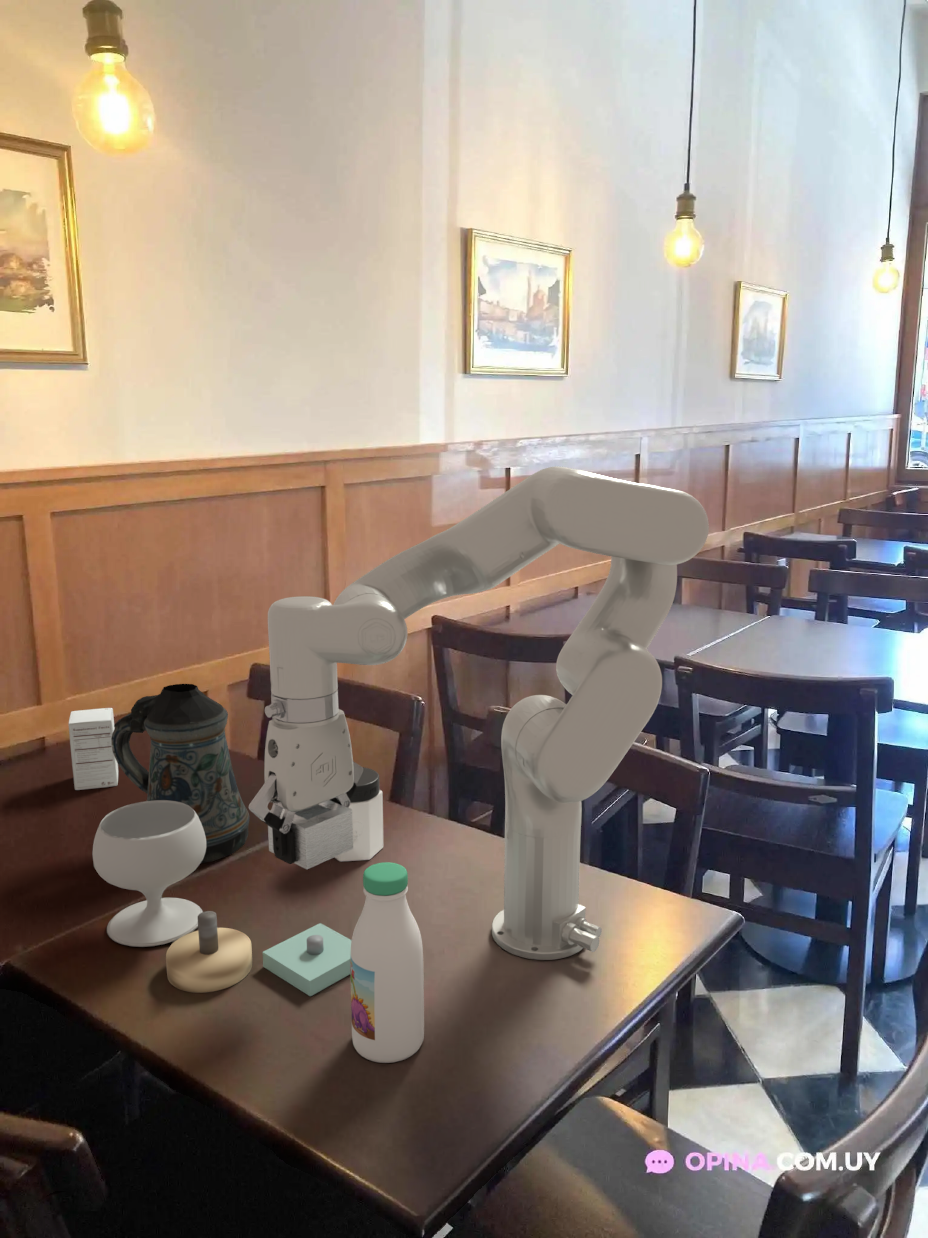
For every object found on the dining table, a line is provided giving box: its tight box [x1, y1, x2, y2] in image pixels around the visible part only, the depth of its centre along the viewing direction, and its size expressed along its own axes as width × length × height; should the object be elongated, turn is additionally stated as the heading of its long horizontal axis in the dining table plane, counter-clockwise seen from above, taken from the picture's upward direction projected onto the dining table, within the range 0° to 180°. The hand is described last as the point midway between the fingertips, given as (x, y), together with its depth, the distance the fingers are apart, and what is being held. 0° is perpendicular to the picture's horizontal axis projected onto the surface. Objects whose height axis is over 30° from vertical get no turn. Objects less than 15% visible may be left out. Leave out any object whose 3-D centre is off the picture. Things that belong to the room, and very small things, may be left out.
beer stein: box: [111, 683, 250, 864], centre depth 148 cm, size 16×19×25 cm
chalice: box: [92, 800, 206, 948], centre depth 126 cm, size 14×14×15 cm
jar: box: [334, 766, 384, 862], centre depth 147 cm, size 9×8×12 cm
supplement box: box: [68, 707, 119, 791], centre depth 174 cm, size 7×7×13 cm
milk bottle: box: [349, 861, 425, 1064], centre depth 102 cm, size 8×8×20 cm
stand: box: [262, 922, 352, 997], centre depth 118 cm, size 9×9×4 cm
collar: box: [267, 800, 353, 870], centre depth 114 cm, size 7×7×5 cm
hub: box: [165, 910, 253, 994], centre depth 117 cm, size 10×10×7 cm
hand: (311, 847), depth 115 cm, fingers closed on collar, 7 cm apart
